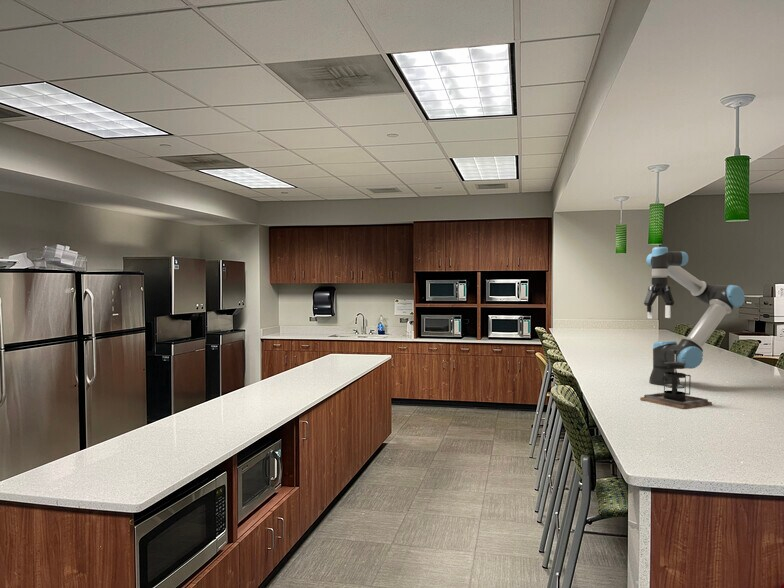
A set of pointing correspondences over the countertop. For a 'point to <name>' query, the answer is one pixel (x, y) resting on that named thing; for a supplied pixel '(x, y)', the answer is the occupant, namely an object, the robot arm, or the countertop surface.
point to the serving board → (689, 402)
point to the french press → (675, 381)
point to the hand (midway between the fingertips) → (659, 318)
